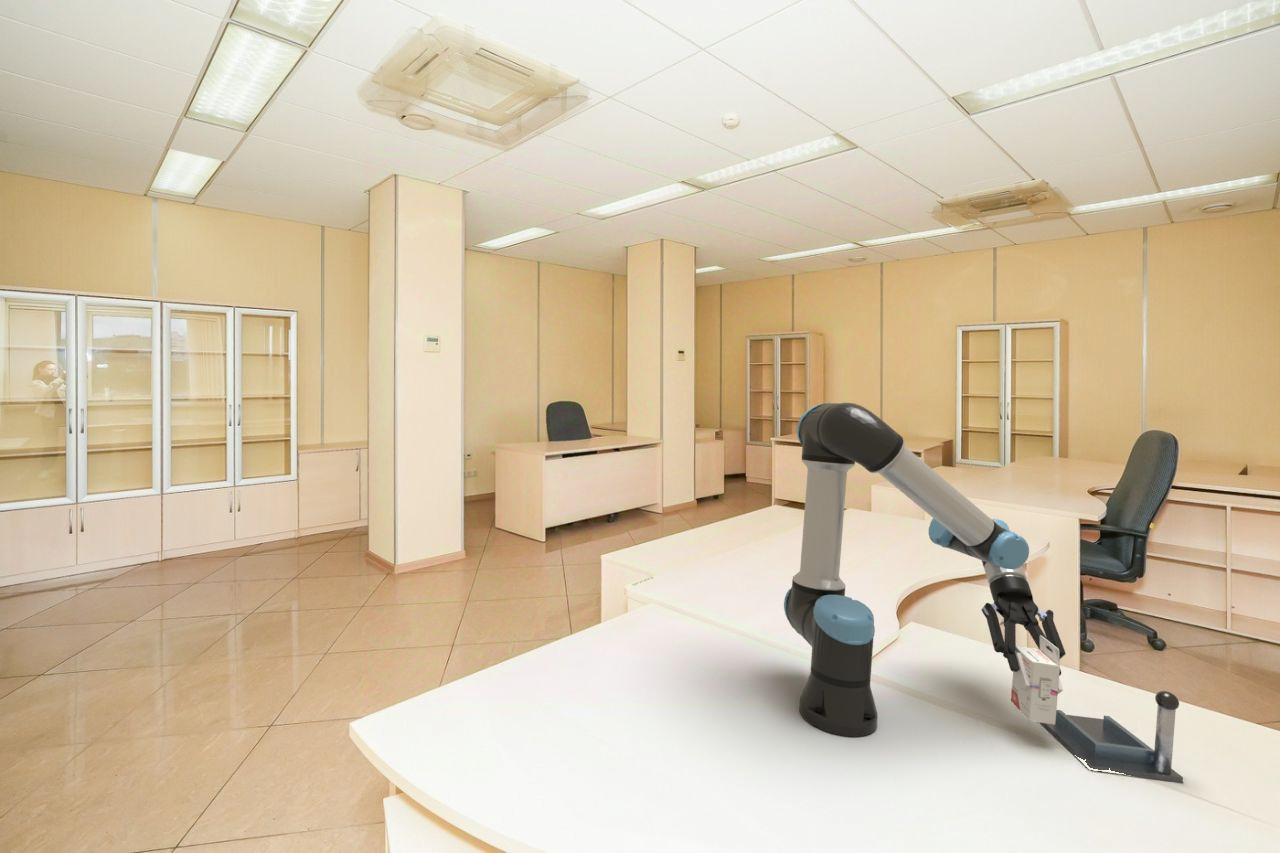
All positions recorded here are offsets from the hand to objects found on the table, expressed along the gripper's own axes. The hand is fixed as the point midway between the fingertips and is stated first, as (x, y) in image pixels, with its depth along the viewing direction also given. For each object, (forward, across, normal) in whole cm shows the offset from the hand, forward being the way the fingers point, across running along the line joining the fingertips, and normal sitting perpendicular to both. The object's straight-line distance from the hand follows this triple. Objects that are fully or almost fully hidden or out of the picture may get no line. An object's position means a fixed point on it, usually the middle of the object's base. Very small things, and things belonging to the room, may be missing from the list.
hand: (1041, 689), depth 112 cm
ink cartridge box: (+2, 0, -6) cm, 7 cm away
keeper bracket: (+6, -13, -9) cm, 17 cm away
